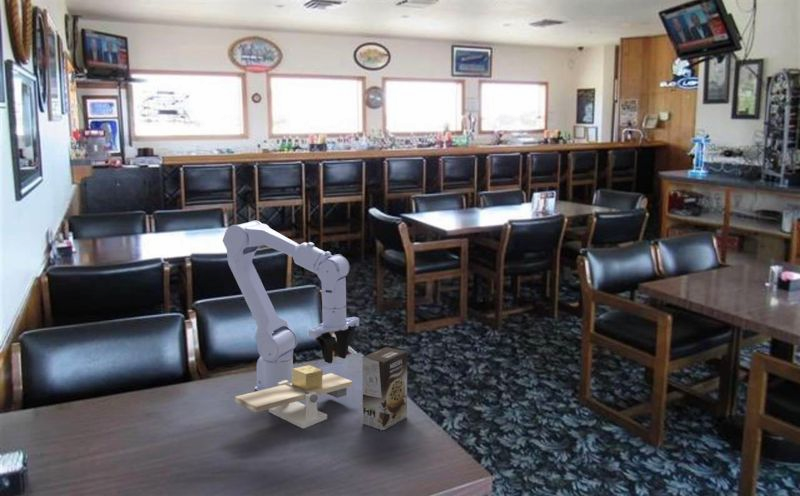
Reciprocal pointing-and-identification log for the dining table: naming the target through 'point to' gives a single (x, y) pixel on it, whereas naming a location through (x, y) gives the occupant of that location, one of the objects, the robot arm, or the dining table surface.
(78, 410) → the dining table surface
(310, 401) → the stand
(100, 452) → the dining table surface
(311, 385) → the rider
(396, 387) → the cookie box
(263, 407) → the beam
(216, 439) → the dining table surface
